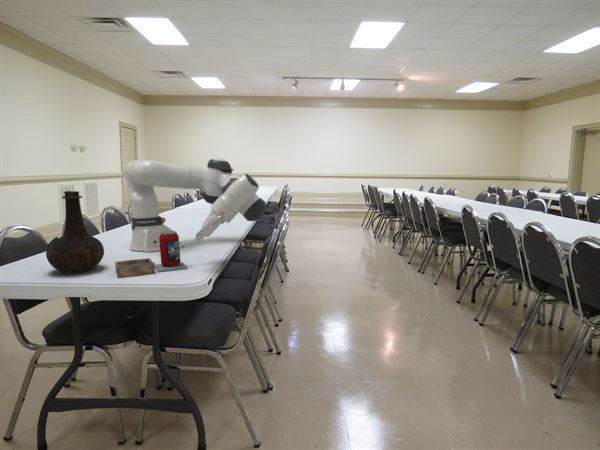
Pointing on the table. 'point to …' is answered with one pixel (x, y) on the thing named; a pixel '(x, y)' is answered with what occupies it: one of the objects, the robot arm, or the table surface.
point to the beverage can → (169, 248)
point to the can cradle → (134, 267)
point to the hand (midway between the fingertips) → (196, 239)
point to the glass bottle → (74, 241)
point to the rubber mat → (170, 267)
